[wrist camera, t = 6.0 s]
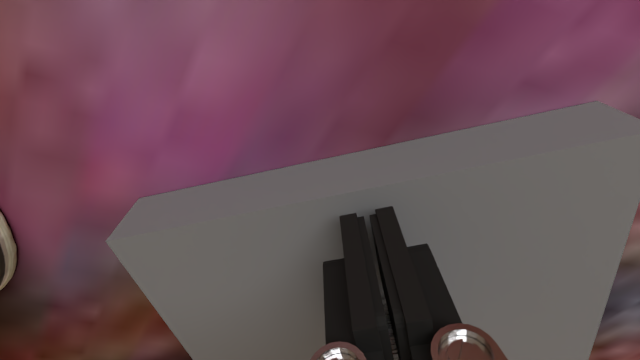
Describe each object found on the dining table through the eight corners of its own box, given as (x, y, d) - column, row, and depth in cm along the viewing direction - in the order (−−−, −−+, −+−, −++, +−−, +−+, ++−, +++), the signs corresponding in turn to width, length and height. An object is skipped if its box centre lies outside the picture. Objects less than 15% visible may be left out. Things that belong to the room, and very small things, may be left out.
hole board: (597, 101, 12) (662, 129, 9) (537, 396, 22) (561, 442, 20) (138, 198, 13) (105, 241, 11) (282, 430, 23) (279, 476, 21)
